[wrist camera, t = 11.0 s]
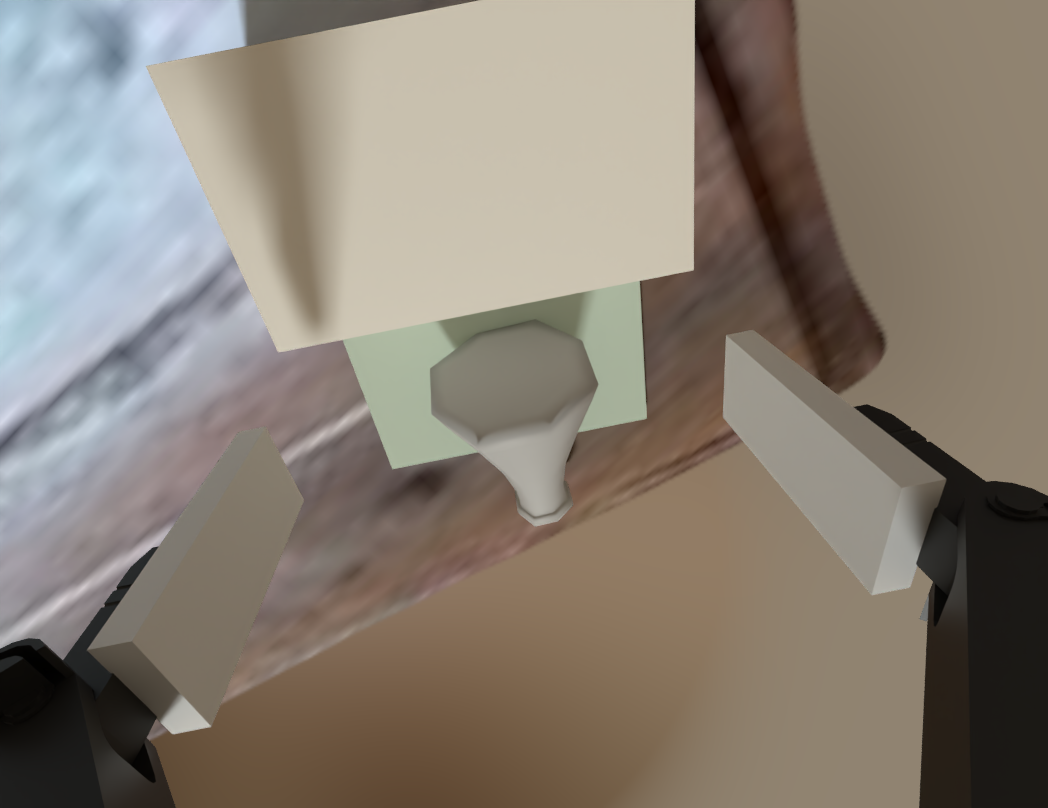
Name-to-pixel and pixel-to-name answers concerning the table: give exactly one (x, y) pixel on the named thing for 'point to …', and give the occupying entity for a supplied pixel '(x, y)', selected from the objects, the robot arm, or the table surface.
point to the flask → (519, 407)
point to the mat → (408, 353)
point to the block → (446, 159)
